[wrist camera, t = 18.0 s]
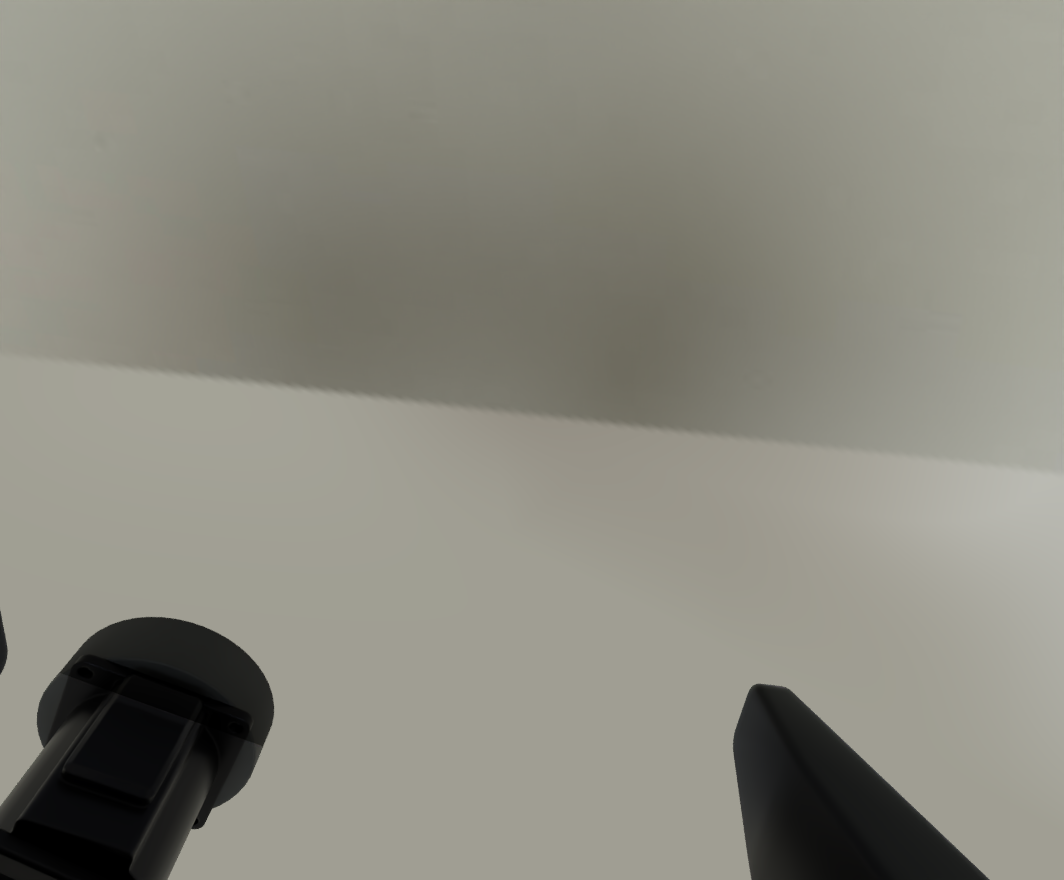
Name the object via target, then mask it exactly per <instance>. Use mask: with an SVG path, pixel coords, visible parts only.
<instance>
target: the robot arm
mask: <svg viewBox="0 0 1064 880" xmlns="http://www.w3.org/2000/svg"><path fill="white" fill-rule="evenodd" d="M6 659H7V643H6V638H5V633H4V627H3V622H2V617H1V612H0V674H1V672H2V670H3V669H4V666H5V663H6ZM87 668H88V669H90V670H88V669H87ZM253 721H254V720H253V718H252V716H251V715H250V714H249V713H248V712H246V711H244V710H241V709H239V708H236V707H233V706H230V705H228V704H225V703H222V702H220V701H217V700H214V699H212V698H209V697H206V696H203V695H201V694H198V693H195V692H193V691H190V690H187V689H184V688H182V687H179V686H176V685H174V684H171V683H168V682H165V681H163V680H160V679H157V678H155V677H152V676H149V675H147V674H144V673H141V672H138V671H136V670H133V669H130V668H128V667H125V666H122V665H119V664H117V663H114V662H111V661H109V660H106V659H103V658H101V657H98V656H95V655H91V654H86V655H82V656H80V657H79V658H78V660H77V661H76V662H75V663H74V665H73V666H72V667H71V670H70V673H69V676H68V679H67V682H66V685H65V688H64V691H63V694H62V697H61V700H60V703H59V706H58V708H57V711H56V714H55V717H54V720H53V723H52V726H51V729H50V732H49V735H48V738H47V741H46V744H45V747H44V749H43V750H42V752H41V753H40V755H39V756H38V757H37V758H36V760H35V761H34V762H33V764H32V765H31V766H30V768H29V769H28V770H27V772H26V773H25V774H24V776H23V777H22V778H21V780H20V781H19V782H18V784H17V785H16V786H15V788H14V789H13V790H12V792H11V793H10V794H9V796H8V797H7V798H6V800H5V801H4V802H3V803H2V805H1V806H0V880H167V879H168V877H169V875H170V872H171V871H172V868H173V866H174V864H175V862H176V860H177V858H178V856H179V854H180V851H181V849H182V847H183V845H184V843H185V841H186V838H187V836H188V834H189V832H190V830H191V829H199V828H201V827H202V826H203V825H204V824H205V822H206V820H207V818H208V816H209V814H210V812H211V810H212V808H213V806H214V804H215V802H216V799H217V797H218V795H219V793H220V791H221V789H222V787H223V785H224V783H225V781H226V779H227V777H228V775H229V773H230V771H231V769H232V767H233V765H234V763H235V761H236V759H237V756H238V754H239V752H240V750H241V748H242V746H243V744H244V742H245V740H246V738H247V736H248V734H249V732H250V730H251V727H252V725H253ZM236 723H239V724H240V725H239V724H236ZM733 752H734V760H735V767H736V775H737V782H738V788H739V796H740V804H741V811H742V818H743V825H744V833H745V840H746V847H747V854H748V861H749V867H750V873H751V879H752V880H989V879H988V878H987V877H986V876H985V875H984V874H983V873H982V872H981V871H980V870H979V869H978V868H977V867H976V866H975V865H974V864H973V863H971V862H970V861H969V860H968V859H967V858H966V857H965V856H964V855H963V854H962V853H961V852H960V851H959V850H958V849H957V848H956V847H955V846H954V845H953V844H952V843H950V842H949V841H948V840H947V839H946V838H945V837H944V836H943V835H942V834H941V833H940V832H939V831H938V830H937V829H936V828H935V827H934V826H933V825H932V824H931V823H929V822H928V821H927V820H926V819H925V818H924V817H923V816H922V815H921V814H920V813H919V812H918V811H917V810H916V809H915V808H914V807H913V806H911V804H909V803H908V802H907V801H906V800H905V799H904V798H903V797H902V796H901V795H900V794H899V793H898V792H897V791H896V790H895V789H894V788H893V787H892V786H891V785H890V784H888V783H887V782H886V781H885V780H884V779H883V778H882V777H881V776H880V775H879V774H878V773H877V772H876V771H875V770H874V769H873V768H872V767H870V765H868V764H867V763H866V762H865V761H864V760H863V759H862V758H861V757H860V756H859V755H858V754H857V753H856V752H855V751H854V750H853V749H852V748H851V747H850V746H849V745H847V744H846V743H845V742H844V741H843V740H842V739H841V738H840V737H839V736H838V735H837V734H836V733H835V732H834V731H833V730H832V729H831V728H830V727H829V726H828V725H826V724H825V723H824V722H823V721H822V720H821V719H820V718H819V717H818V716H817V715H816V714H815V713H814V712H813V711H812V710H811V709H810V708H809V707H807V706H806V705H805V704H804V703H803V702H802V701H801V700H800V699H799V698H798V697H797V696H796V695H795V694H794V693H793V692H792V691H790V690H789V689H787V688H786V687H782V686H775V685H766V684H756V685H753V686H752V687H751V689H750V690H749V693H748V695H747V698H746V701H745V703H744V707H743V709H742V712H741V715H740V718H739V721H738V724H737V727H736V730H735V733H734V740H733Z"/></svg>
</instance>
